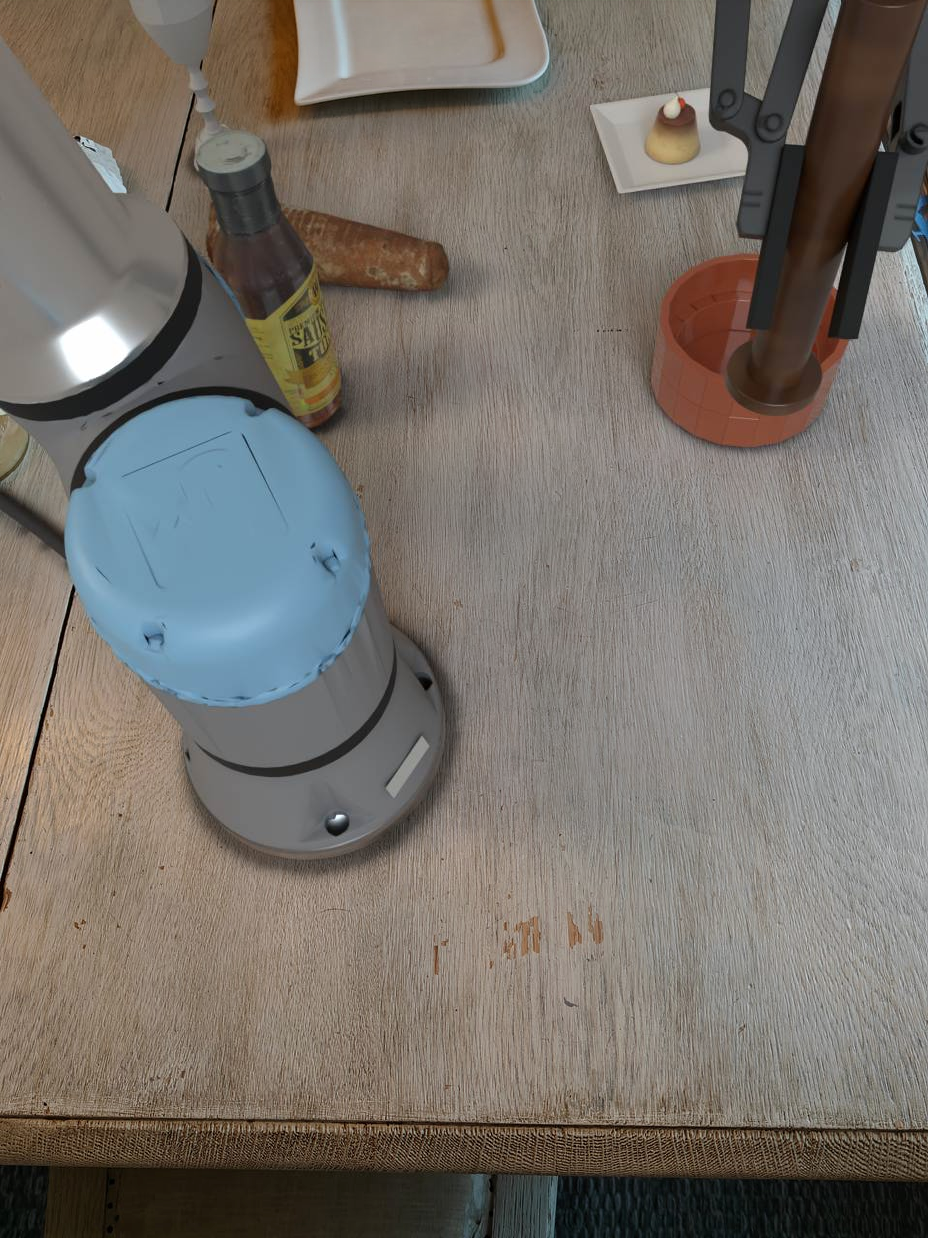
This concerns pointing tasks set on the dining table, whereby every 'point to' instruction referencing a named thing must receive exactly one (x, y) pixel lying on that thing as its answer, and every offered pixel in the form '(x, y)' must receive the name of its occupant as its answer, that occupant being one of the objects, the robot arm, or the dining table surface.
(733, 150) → the dessert
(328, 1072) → the dining table surface
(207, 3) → the chalice
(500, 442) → the dining table surface
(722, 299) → the bowl
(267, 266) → the sauce bottle
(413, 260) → the bread
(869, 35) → the wooden peg on base
